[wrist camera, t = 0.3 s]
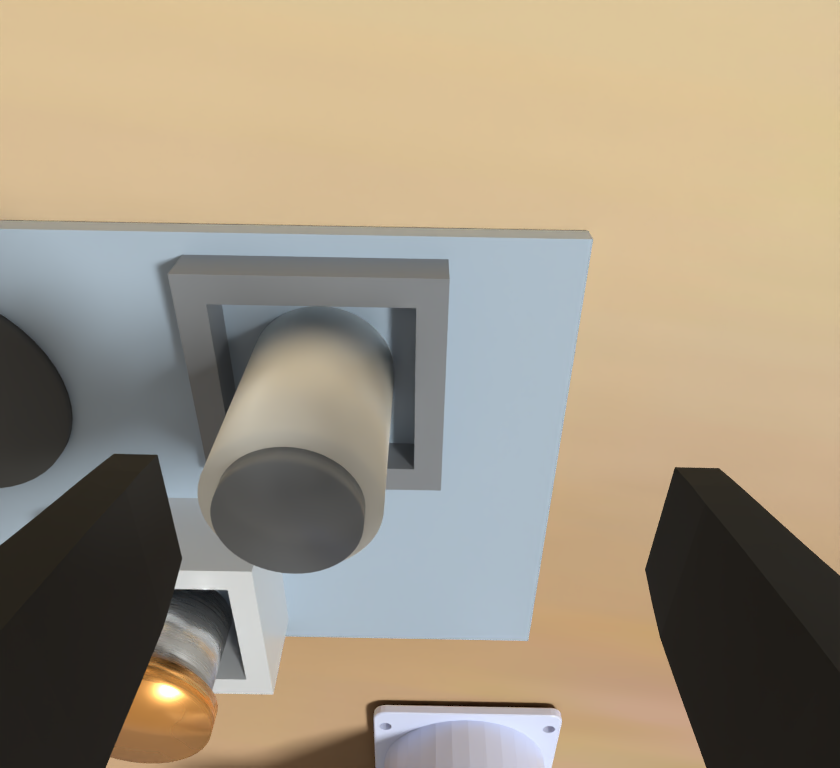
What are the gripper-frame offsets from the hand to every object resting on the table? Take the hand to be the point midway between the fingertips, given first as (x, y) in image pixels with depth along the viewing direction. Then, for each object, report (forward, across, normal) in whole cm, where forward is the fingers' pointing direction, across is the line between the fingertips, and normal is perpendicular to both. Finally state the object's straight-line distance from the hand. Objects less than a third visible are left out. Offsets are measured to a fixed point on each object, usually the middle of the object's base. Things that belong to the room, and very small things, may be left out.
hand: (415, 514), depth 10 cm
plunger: (+7, +8, +11) cm, 15 cm away
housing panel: (+10, +7, +7) cm, 14 cm away
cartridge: (+9, +3, +3) cm, 10 cm away
